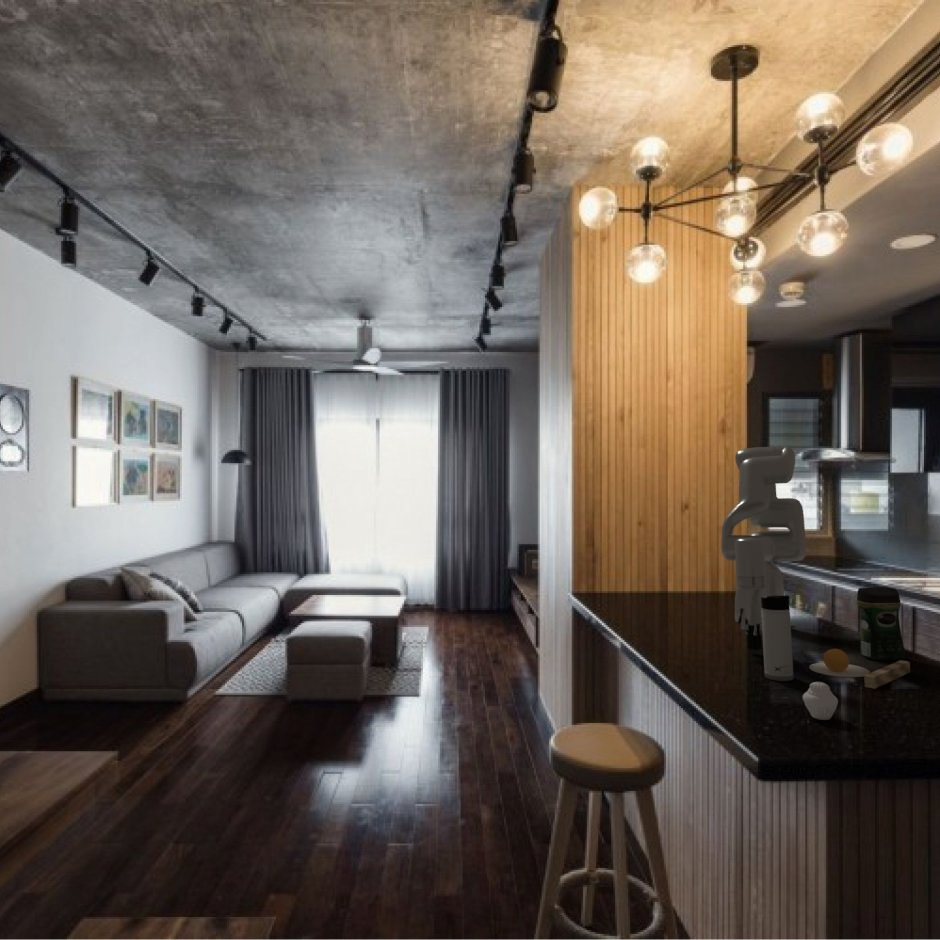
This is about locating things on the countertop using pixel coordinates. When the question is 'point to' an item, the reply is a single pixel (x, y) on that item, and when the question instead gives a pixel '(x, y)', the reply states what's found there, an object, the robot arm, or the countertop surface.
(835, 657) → the ball
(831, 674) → the disc
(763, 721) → the countertop surface
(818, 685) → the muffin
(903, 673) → the stopper strip
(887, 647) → the coffee jar
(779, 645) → the travel mug
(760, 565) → the robot arm
